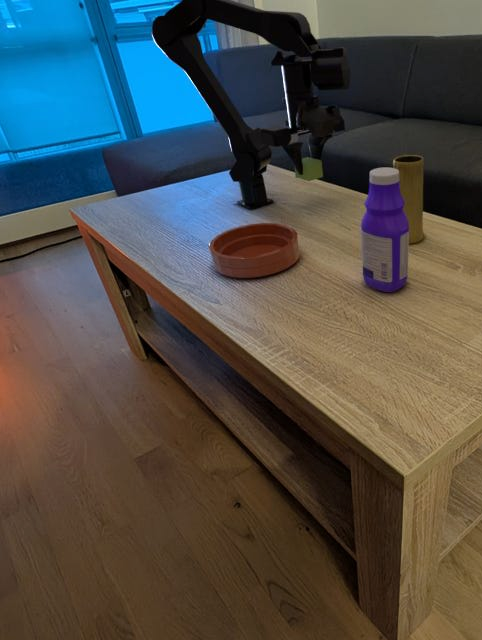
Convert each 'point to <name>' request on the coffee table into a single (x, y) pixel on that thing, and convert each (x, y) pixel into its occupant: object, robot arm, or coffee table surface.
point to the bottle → (385, 233)
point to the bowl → (255, 250)
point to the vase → (412, 192)
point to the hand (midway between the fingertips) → (308, 172)
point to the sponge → (310, 169)
